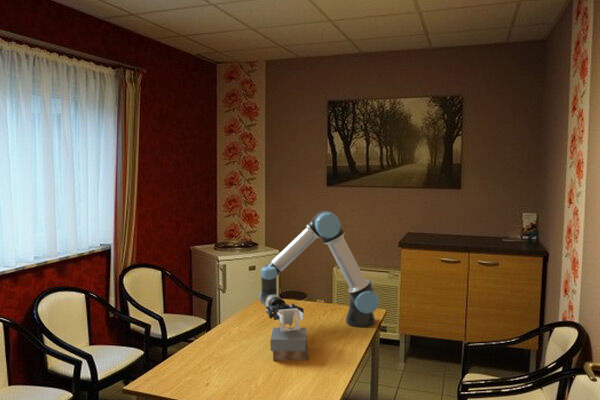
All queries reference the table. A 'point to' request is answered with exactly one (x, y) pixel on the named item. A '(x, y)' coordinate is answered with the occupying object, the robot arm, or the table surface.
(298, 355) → the tower bottom block
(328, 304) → the table surface
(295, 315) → the portable electronic device stand
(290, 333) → the tower top block
